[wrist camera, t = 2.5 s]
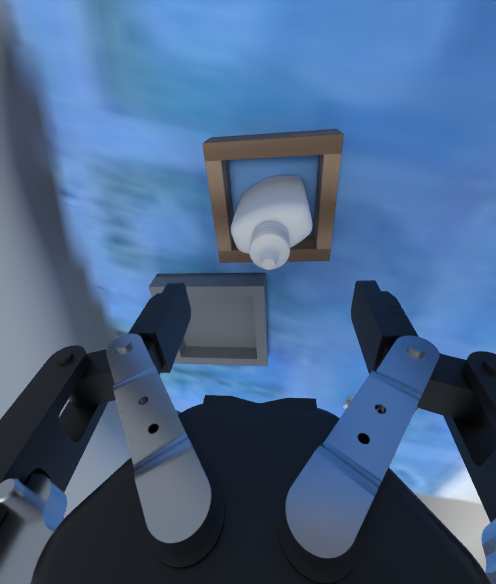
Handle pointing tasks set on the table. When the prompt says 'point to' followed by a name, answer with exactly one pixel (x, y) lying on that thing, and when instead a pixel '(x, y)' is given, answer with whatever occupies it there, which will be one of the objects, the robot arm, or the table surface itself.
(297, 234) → the eye dropper bottle
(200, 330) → the tray
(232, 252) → the holder collar
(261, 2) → the table surface
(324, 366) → the table surface
